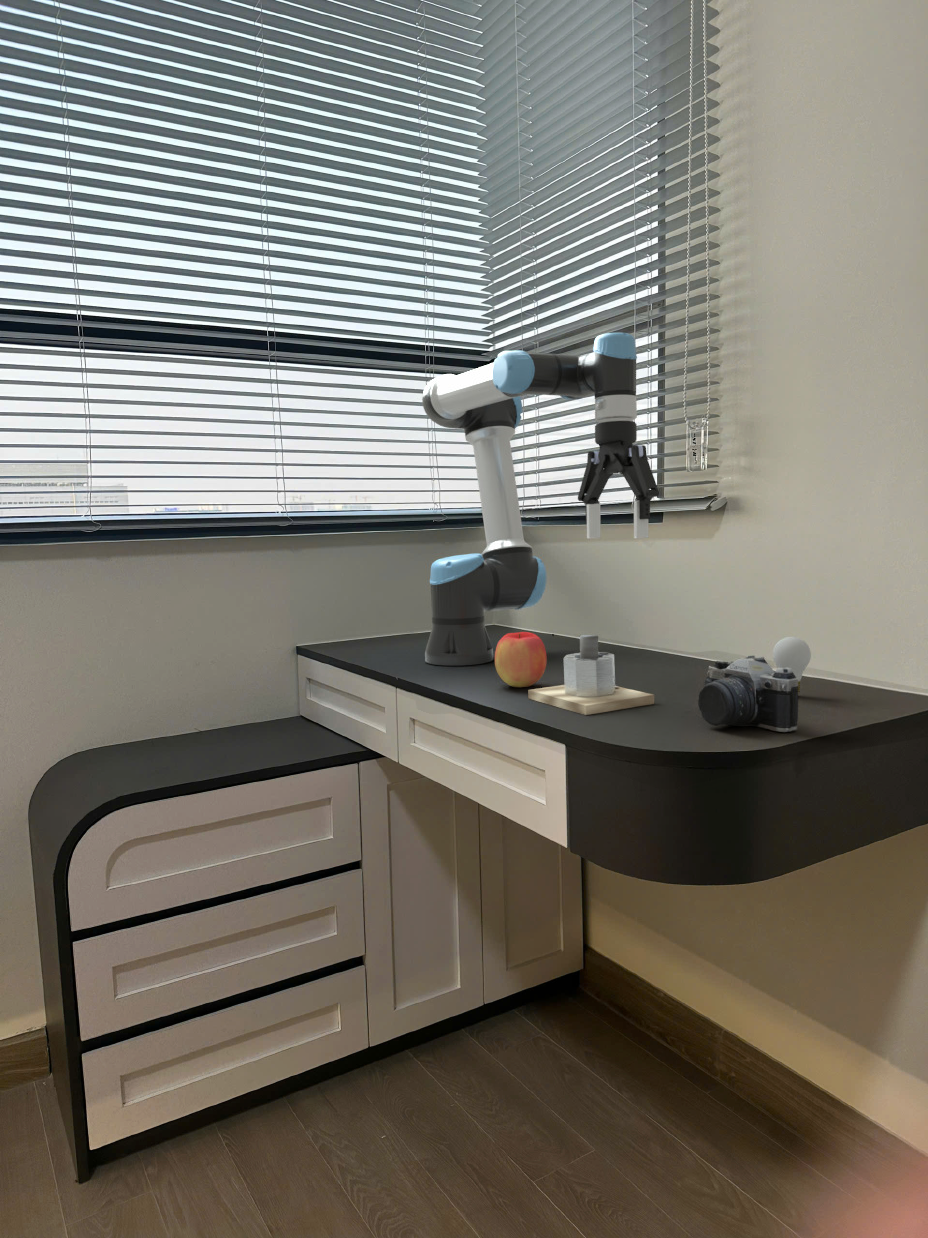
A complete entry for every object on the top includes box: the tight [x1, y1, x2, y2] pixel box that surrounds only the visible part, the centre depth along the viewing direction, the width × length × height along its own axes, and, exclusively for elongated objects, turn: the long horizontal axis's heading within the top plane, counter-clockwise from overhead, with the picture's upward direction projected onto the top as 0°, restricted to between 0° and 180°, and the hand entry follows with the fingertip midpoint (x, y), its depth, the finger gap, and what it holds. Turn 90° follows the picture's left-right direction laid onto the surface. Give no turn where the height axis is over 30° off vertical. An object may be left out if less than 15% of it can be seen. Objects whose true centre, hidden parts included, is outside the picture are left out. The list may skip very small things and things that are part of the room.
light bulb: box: [772, 636, 812, 693], centre depth 143 cm, size 6×6×10 cm
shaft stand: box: [527, 634, 655, 716], centre depth 144 cm, size 16×14×11 cm
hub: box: [563, 651, 616, 697], centre depth 144 cm, size 8×8×6 cm
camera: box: [697, 655, 799, 733], centre depth 124 cm, size 16×10×10 cm, turn 29°
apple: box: [494, 631, 548, 688], centre depth 159 cm, size 10×10×10 cm
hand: (616, 538), depth 160 cm, fingers open, 13 cm apart
